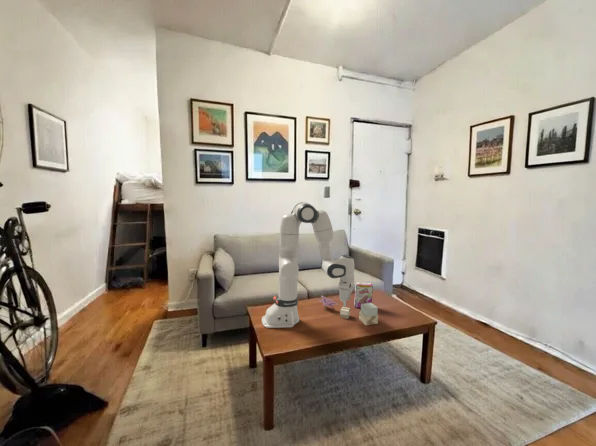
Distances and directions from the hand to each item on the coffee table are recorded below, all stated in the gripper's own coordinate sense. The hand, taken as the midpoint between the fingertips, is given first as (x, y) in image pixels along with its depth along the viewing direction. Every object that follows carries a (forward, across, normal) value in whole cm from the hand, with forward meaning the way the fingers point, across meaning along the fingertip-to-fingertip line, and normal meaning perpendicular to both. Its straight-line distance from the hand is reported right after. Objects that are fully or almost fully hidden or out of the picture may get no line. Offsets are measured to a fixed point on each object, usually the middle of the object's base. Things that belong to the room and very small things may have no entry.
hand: (346, 302), depth 167 cm
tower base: (+9, +1, +13) cm, 16 cm away
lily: (+9, -5, -14) cm, 17 cm away
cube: (+9, 0, -1) cm, 9 cm away
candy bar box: (+9, -19, +7) cm, 22 cm away
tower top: (+4, +1, +14) cm, 14 cm away
